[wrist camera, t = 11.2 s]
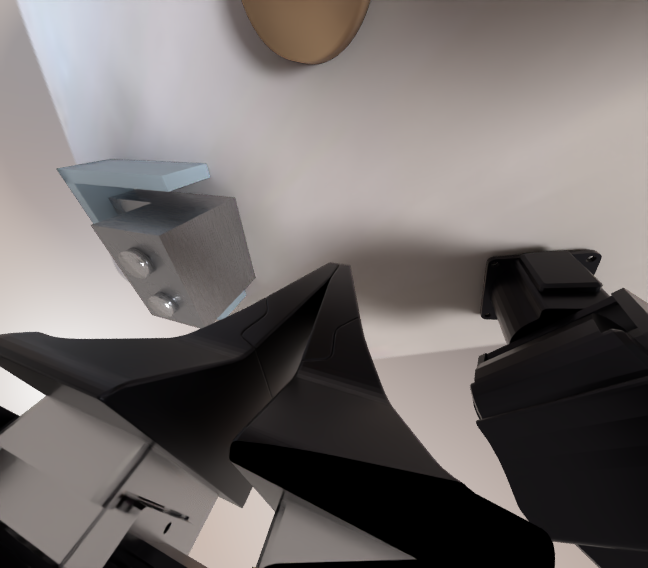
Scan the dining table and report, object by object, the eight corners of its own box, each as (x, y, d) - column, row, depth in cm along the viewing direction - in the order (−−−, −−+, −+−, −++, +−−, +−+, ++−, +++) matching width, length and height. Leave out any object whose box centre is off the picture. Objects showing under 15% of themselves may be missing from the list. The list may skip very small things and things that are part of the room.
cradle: (206, 163, 21) (161, 175, 18) (246, 295, 31) (223, 320, 28) (111, 159, 25) (56, 168, 21) (174, 279, 35) (145, 300, 31)
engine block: (235, 197, 23) (148, 240, 15) (255, 277, 29) (200, 336, 22) (139, 188, 26) (30, 220, 19) (175, 262, 32) (104, 308, 25)
